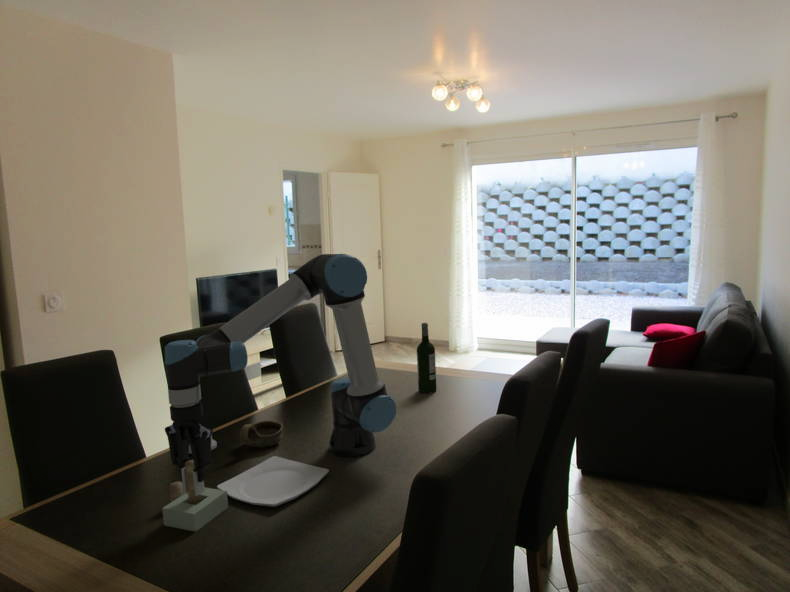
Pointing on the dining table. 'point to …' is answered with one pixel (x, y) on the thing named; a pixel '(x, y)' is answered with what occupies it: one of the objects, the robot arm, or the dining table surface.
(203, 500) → the hole block
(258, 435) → the brown mug
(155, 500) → the dining table surface
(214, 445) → the mechanical component
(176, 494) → the short dowel
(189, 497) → the long dowel
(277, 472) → the plate
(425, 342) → the wine bottle
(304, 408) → the dining table surface
